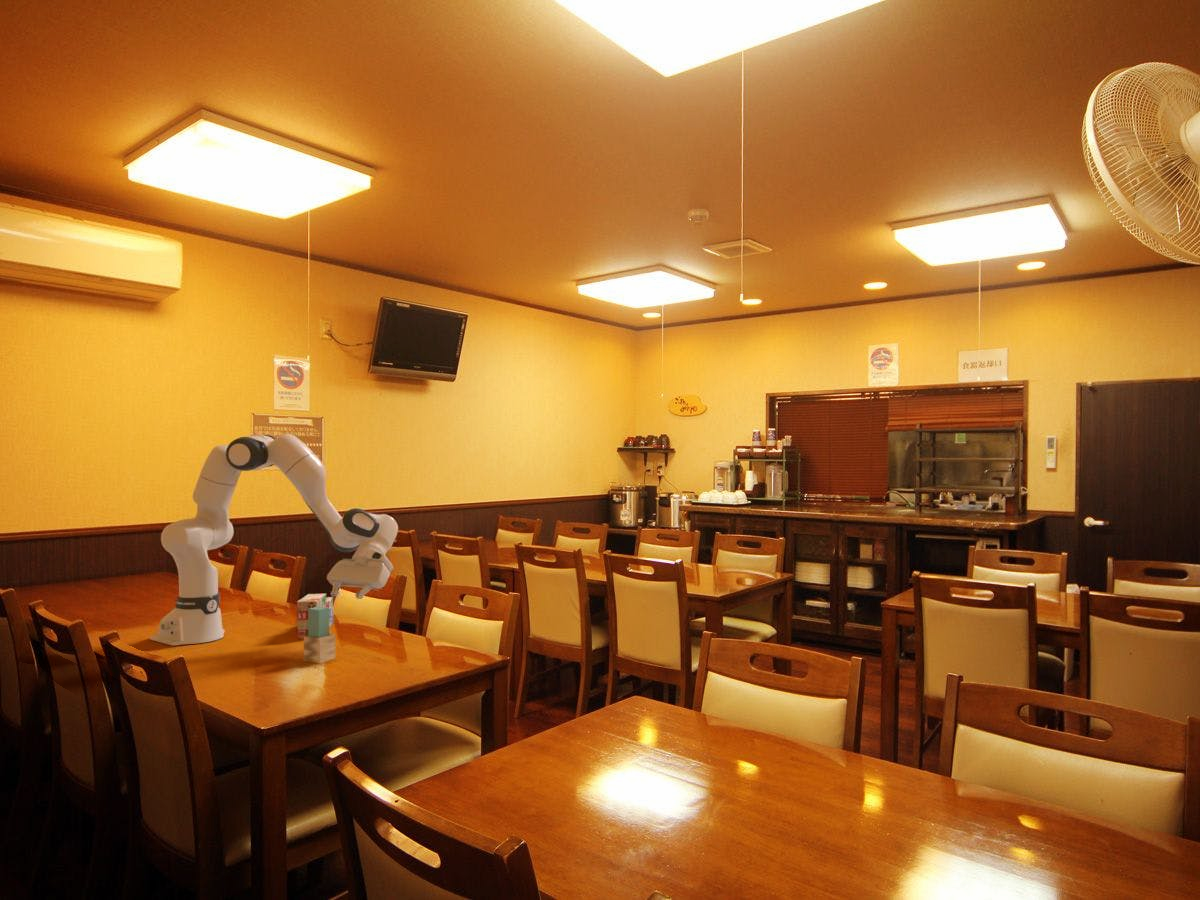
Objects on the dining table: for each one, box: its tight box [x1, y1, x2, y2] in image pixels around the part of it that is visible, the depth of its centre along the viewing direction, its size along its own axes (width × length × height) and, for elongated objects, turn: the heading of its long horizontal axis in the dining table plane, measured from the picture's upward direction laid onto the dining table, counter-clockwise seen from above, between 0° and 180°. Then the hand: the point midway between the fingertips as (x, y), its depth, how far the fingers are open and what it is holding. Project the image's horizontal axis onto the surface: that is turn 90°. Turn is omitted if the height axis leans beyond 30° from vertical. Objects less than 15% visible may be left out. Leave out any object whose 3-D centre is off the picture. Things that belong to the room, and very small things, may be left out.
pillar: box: [308, 606, 330, 638], centre depth 218 cm, size 4×4×8 cm
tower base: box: [303, 646, 336, 664], centre depth 218 cm, size 6×6×4 cm
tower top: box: [303, 633, 336, 652], centre depth 218 cm, size 6×6×4 cm
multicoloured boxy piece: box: [296, 593, 335, 639], centre depth 253 cm, size 21×6×12 cm, turn 5°
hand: (345, 596), depth 228 cm, fingers open, 8 cm apart
